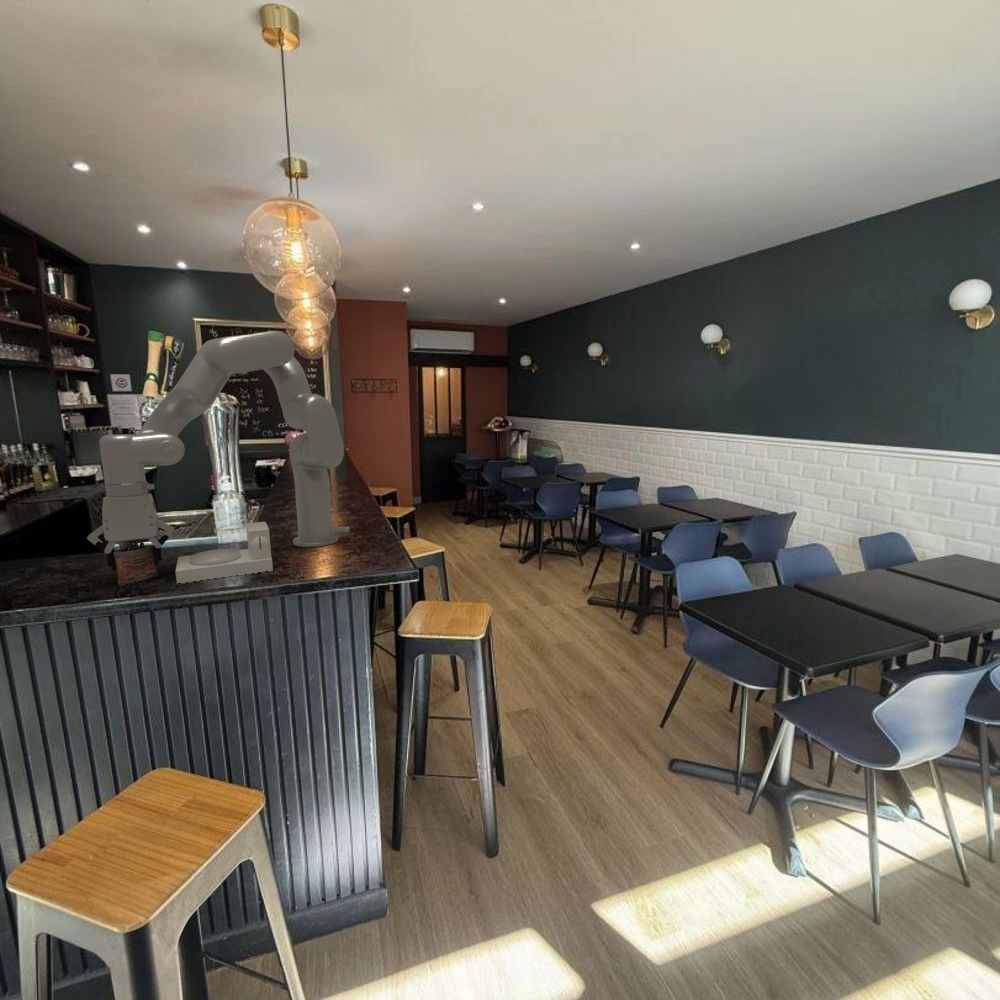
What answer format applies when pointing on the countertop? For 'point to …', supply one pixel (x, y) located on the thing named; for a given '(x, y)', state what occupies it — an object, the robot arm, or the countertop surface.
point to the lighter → (135, 561)
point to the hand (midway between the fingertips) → (136, 565)
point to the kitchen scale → (229, 558)
